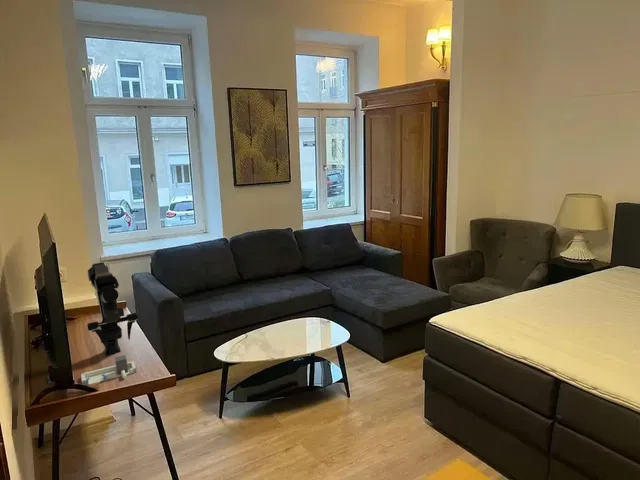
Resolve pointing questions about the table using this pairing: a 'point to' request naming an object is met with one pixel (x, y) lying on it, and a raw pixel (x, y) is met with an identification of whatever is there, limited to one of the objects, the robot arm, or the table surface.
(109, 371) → the long open trough
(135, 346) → the table surface
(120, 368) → the cord plug
